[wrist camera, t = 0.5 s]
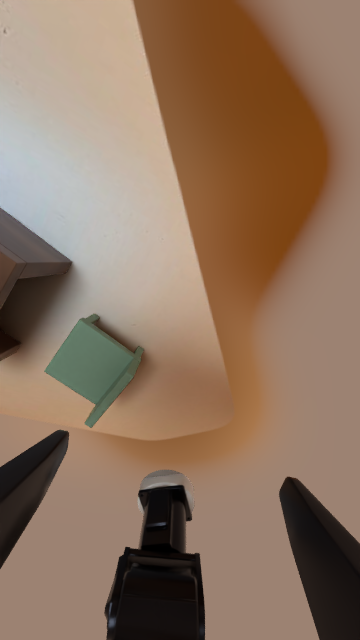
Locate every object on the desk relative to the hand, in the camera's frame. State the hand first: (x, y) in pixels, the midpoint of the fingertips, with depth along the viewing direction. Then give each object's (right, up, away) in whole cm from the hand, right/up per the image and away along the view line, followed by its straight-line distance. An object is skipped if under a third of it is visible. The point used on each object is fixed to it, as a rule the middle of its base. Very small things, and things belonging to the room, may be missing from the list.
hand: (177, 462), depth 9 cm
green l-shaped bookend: (-9, +2, +16) cm, 18 cm away
